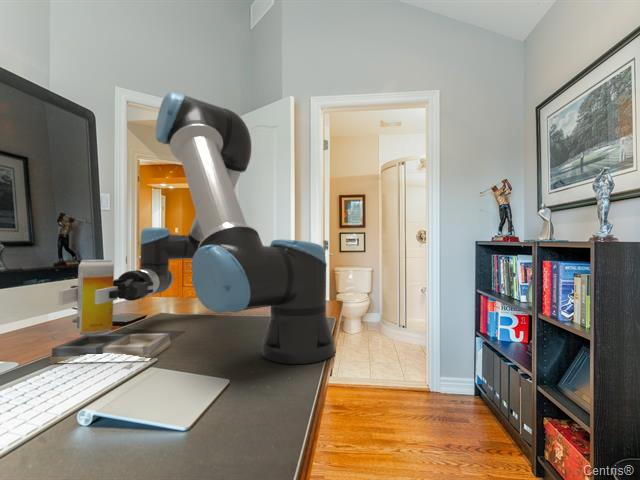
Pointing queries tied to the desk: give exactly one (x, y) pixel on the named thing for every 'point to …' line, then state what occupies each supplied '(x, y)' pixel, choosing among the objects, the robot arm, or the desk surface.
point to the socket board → (112, 345)
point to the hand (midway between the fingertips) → (79, 297)
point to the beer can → (88, 313)
